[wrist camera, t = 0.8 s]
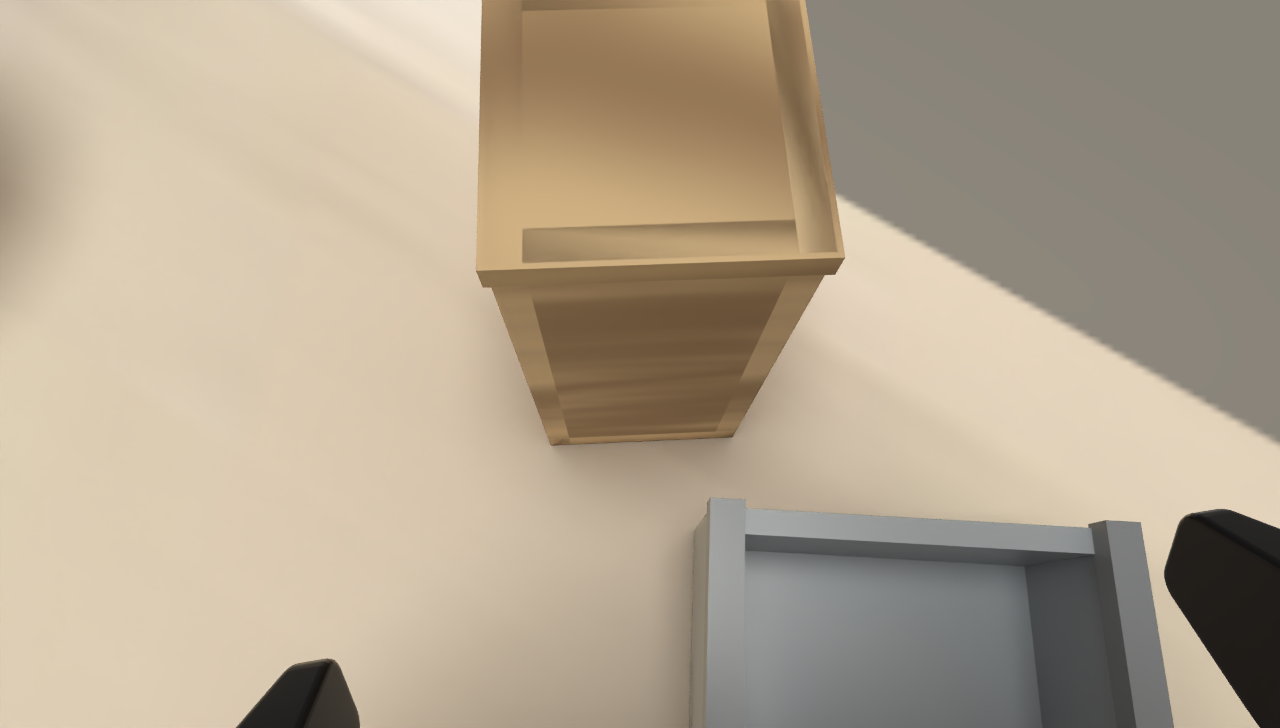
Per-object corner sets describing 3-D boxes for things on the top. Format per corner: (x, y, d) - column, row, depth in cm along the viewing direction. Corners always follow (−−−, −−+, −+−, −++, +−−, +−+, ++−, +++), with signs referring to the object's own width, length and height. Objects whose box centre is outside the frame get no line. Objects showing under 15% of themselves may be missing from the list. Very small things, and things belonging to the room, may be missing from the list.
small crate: (735, 440, 23) (845, 257, 12) (548, 448, 23) (476, 270, 12) (719, 270, 25) (800, -27, 14) (545, 277, 25) (482, -20, 14)
